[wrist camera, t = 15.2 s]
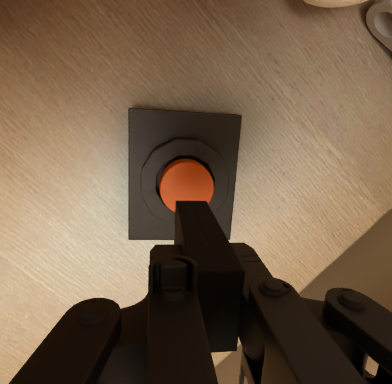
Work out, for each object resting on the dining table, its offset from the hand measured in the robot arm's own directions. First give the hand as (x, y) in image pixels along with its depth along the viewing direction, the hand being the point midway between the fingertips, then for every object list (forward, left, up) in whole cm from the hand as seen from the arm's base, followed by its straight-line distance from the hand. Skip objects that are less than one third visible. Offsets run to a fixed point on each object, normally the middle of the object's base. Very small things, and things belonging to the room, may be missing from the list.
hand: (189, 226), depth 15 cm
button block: (0, +1, -13) cm, 13 cm away
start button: (0, +1, -9) cm, 9 cm away
